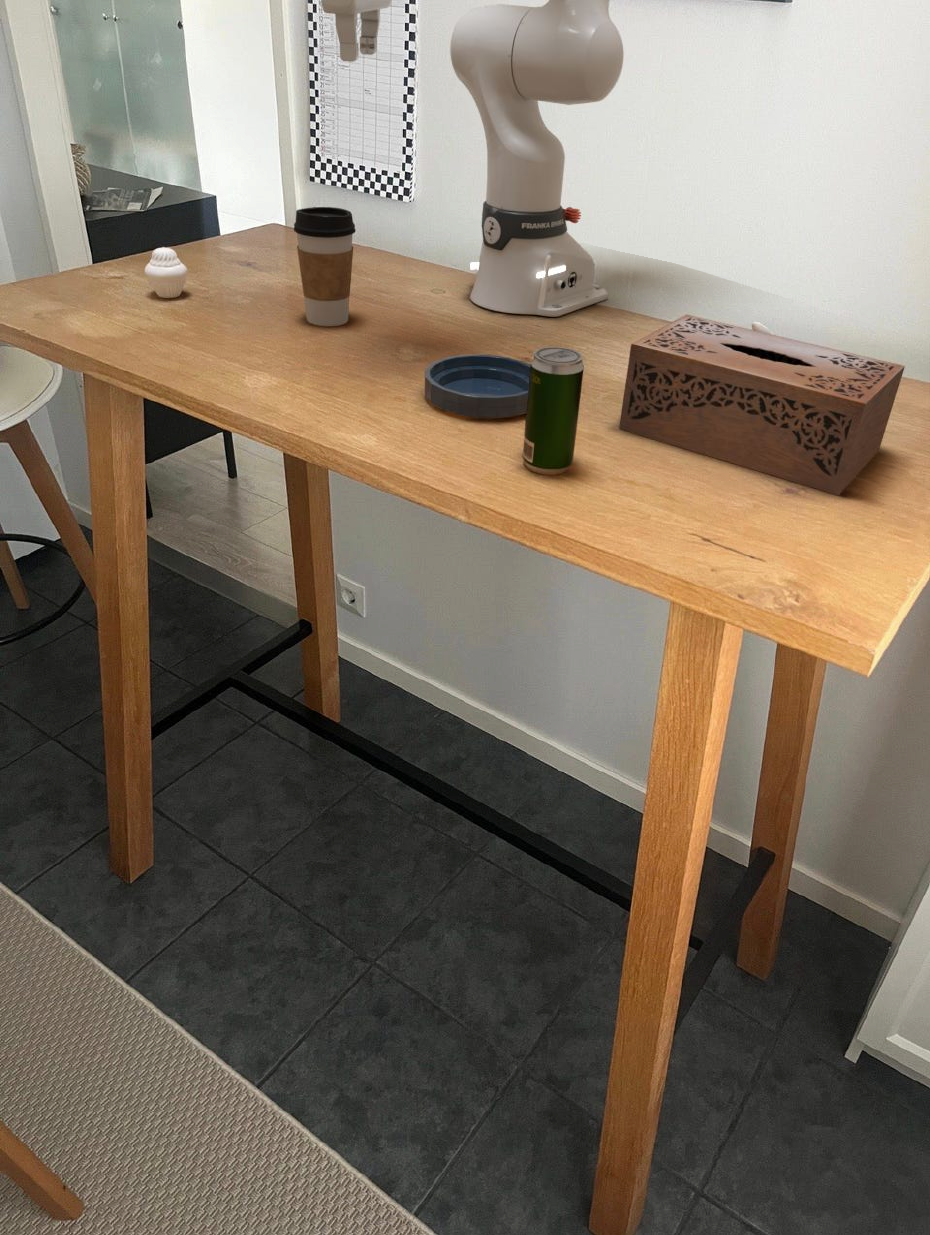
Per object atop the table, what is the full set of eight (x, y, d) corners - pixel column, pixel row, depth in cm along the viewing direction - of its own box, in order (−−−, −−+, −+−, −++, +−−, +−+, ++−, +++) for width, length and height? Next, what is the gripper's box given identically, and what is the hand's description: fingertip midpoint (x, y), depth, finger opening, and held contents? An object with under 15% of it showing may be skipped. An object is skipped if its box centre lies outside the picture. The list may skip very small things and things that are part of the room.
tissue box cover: (878, 451, 112) (905, 365, 106) (838, 495, 102) (865, 404, 96) (672, 393, 124) (686, 314, 118) (618, 428, 114) (631, 343, 108)
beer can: (542, 480, 102) (553, 368, 95) (511, 460, 105) (520, 350, 99) (582, 469, 104) (596, 359, 98) (551, 450, 108) (562, 343, 101)
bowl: (489, 369, 128) (491, 347, 126) (565, 405, 119) (568, 381, 117) (401, 391, 120) (401, 368, 118) (474, 431, 111) (476, 406, 109)
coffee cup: (286, 323, 139) (280, 211, 131) (316, 307, 146) (312, 200, 137) (339, 333, 137) (336, 219, 128) (367, 316, 143) (366, 207, 135)
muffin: (198, 294, 148) (193, 246, 144) (168, 303, 144) (162, 254, 140) (169, 286, 151) (163, 239, 147) (138, 295, 147) (131, 246, 143)
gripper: (364, -93, 97) (365, 67, 105) (404, -85, 114) (403, 52, 121) (302, -96, 97) (308, 63, 105) (350, -88, 114) (353, 49, 122)
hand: (359, 57), depth 113 cm, fingers open, 8 cm apart
